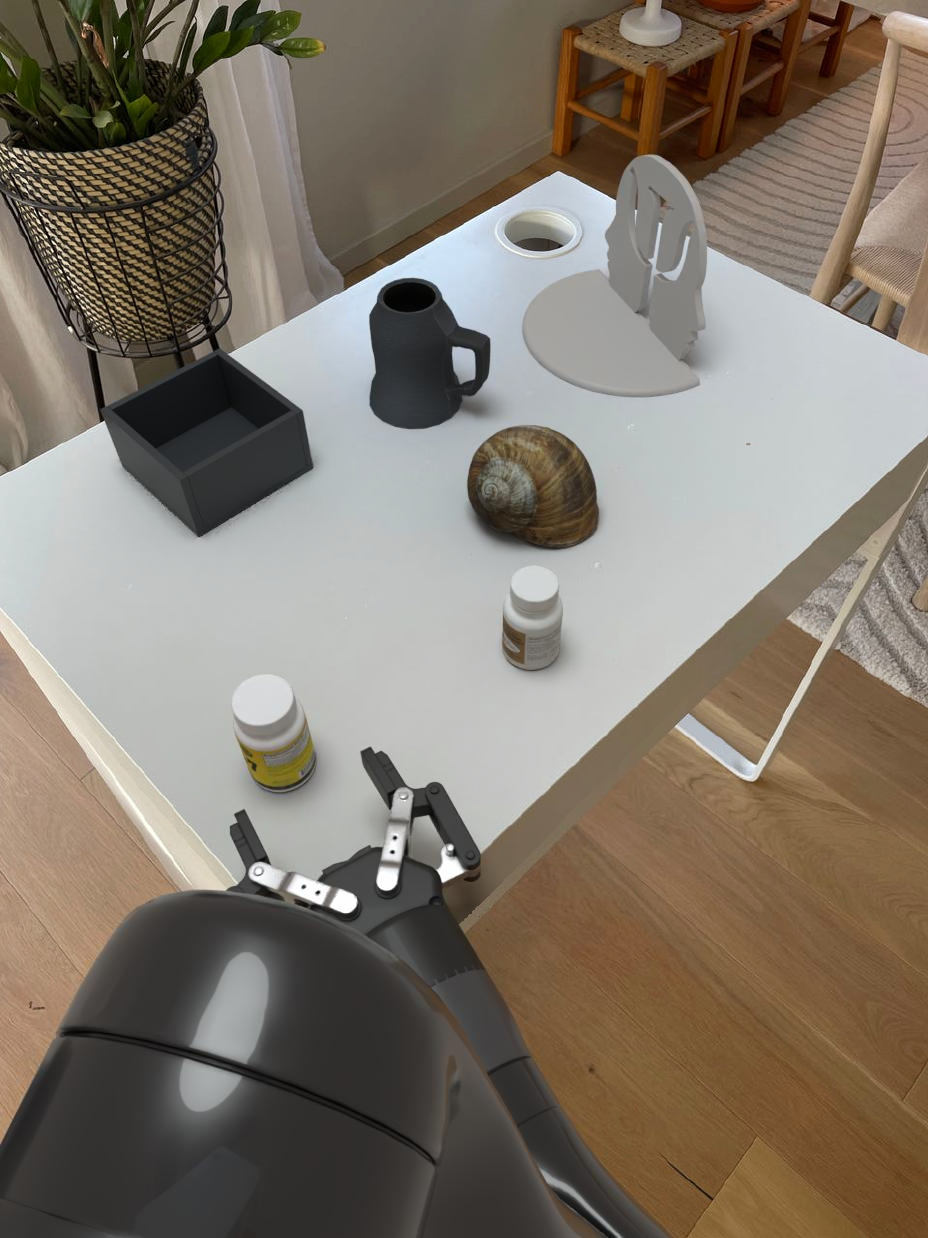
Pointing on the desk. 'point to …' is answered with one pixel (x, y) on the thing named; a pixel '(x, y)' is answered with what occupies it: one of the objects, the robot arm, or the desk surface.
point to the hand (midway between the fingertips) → (304, 785)
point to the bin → (209, 440)
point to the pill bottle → (532, 618)
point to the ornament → (630, 296)
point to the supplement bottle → (273, 733)
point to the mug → (420, 356)
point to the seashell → (534, 486)
